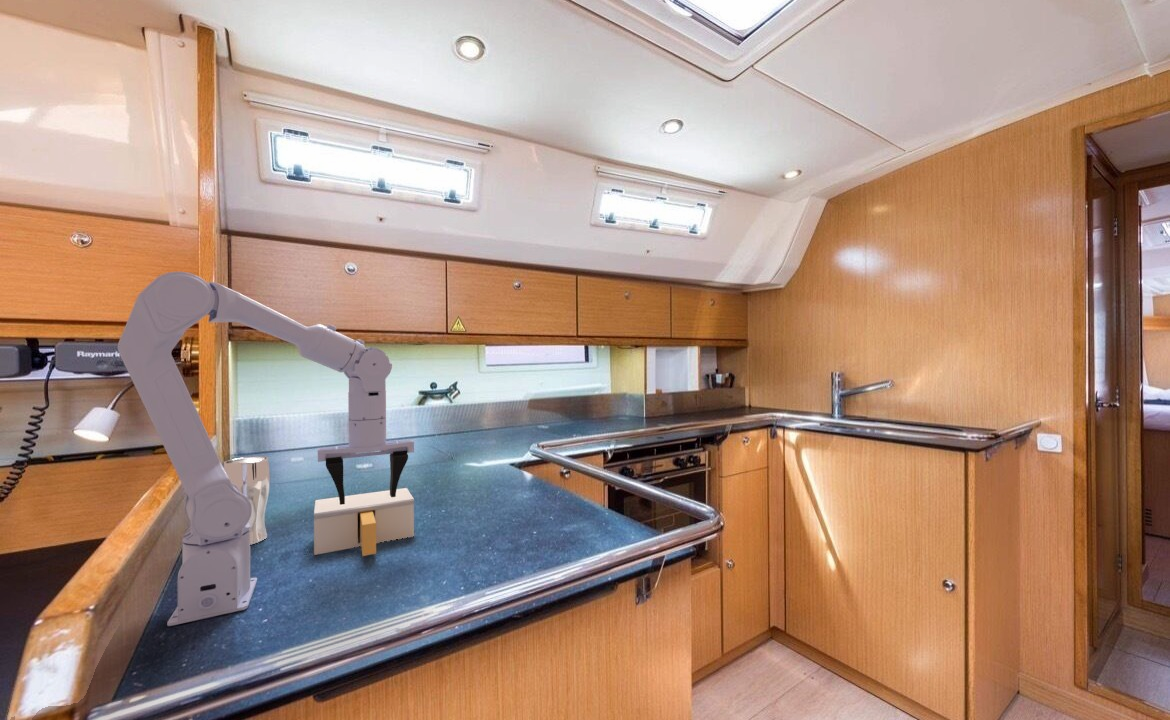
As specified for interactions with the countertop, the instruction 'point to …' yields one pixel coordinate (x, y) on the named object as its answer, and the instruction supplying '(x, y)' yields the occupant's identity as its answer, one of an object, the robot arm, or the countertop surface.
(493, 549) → the countertop surface
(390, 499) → the dispenser
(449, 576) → the countertop surface
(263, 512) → the beer glass
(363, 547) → the tab
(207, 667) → the countertop surface
